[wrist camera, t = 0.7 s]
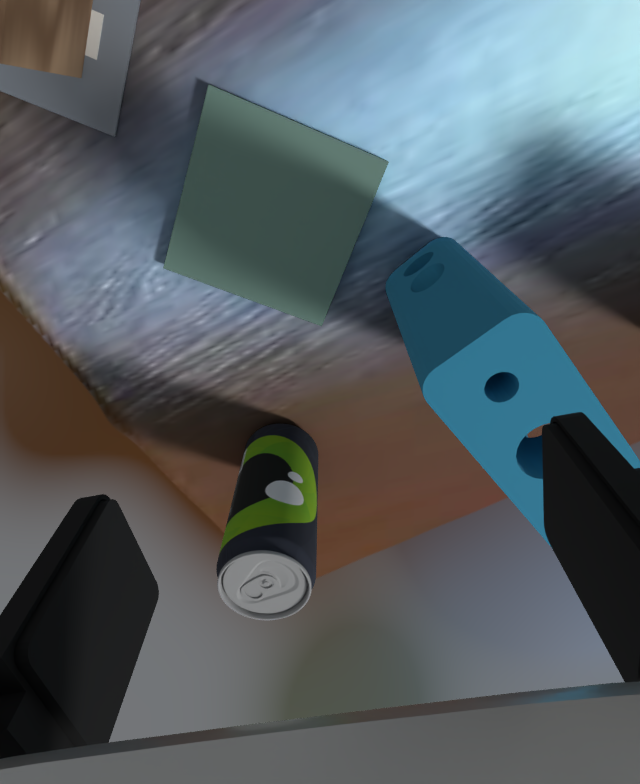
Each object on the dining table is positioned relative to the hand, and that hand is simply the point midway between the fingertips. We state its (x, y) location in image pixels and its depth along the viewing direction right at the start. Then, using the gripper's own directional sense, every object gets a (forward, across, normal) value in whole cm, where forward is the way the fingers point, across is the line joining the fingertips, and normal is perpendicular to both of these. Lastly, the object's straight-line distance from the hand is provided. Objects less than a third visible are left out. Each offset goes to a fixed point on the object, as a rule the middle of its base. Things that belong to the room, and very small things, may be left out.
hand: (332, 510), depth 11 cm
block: (+29, -8, +6) cm, 30 cm away
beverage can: (+29, +7, +16) cm, 34 cm away
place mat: (+28, +3, -3) cm, 29 cm away
